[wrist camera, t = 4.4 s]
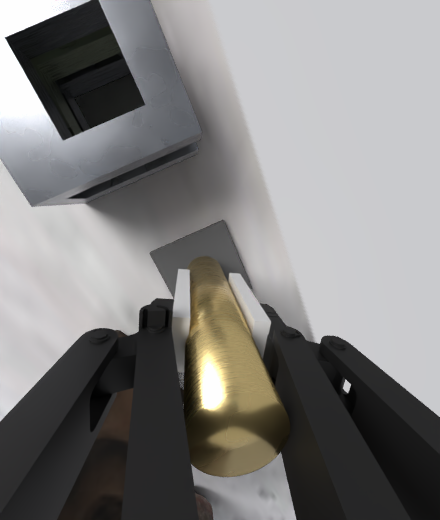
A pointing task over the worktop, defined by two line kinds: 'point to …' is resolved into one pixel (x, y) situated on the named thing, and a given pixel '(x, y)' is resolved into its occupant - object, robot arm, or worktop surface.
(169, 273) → the mat
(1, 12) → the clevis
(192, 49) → the worktop surface
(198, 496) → the brown tall block
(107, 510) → the brown rough chunk
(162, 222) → the worktop surface
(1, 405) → the worktop surface
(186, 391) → the pin
